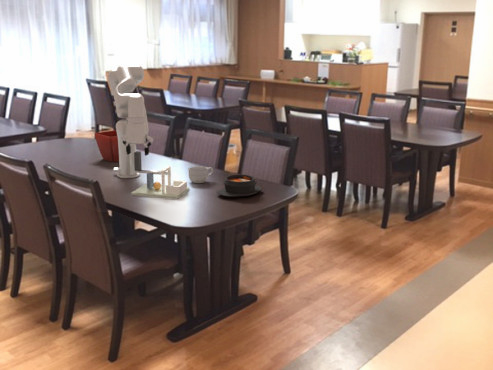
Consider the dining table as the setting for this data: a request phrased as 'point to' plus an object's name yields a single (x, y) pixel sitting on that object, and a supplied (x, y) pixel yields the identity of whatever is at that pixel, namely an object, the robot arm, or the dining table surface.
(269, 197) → the dining table surface
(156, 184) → the ball
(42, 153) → the dining table surface
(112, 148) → the plant pot
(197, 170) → the teacup
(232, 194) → the casserole
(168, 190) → the cream platform with frame
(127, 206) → the dining table surface
